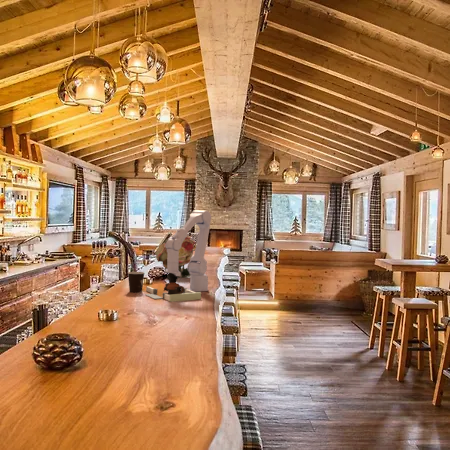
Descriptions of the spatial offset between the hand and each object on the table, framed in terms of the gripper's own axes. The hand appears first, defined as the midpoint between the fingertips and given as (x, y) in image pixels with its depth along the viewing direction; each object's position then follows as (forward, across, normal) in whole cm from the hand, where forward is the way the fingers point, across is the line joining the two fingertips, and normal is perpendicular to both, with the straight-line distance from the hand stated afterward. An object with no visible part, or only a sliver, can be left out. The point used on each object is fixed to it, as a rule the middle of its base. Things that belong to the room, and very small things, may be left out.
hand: (172, 288), depth 230 cm
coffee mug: (+3, -16, -13) cm, 21 cm away
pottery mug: (+3, +6, -2) cm, 8 cm away
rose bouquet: (+4, -60, +31) cm, 68 cm away
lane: (+3, +1, -1) cm, 4 cm away
